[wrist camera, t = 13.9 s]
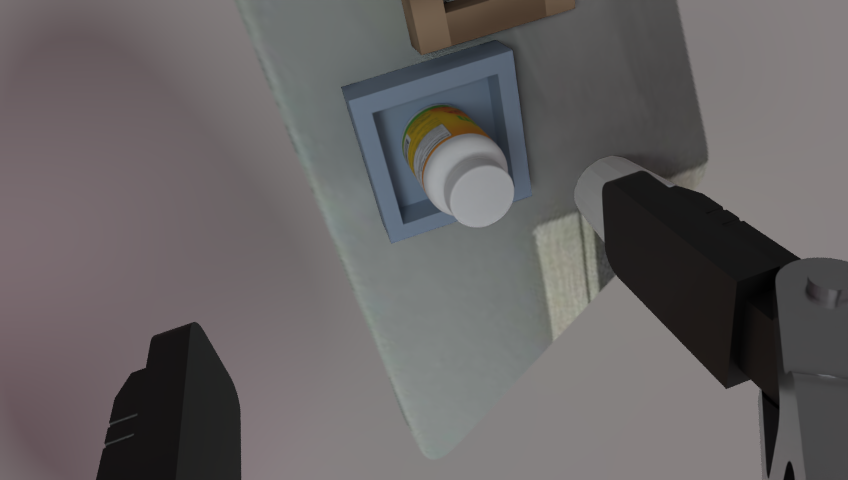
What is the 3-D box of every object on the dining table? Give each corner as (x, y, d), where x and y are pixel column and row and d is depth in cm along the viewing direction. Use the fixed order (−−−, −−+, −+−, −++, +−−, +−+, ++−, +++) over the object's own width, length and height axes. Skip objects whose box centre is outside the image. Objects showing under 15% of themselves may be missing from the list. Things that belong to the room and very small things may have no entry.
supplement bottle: (486, 135, 44) (544, 191, 35) (434, 187, 45) (478, 254, 36) (438, 85, 41) (488, 134, 33) (384, 142, 42) (419, 204, 34)
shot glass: (647, 202, 52) (699, 242, 46) (576, 236, 51) (619, 281, 46) (635, 134, 48) (691, 169, 42) (558, 171, 48) (603, 211, 42)
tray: (341, 87, 40) (348, 101, 37) (495, 39, 41) (512, 50, 38) (382, 223, 46) (391, 243, 43) (516, 179, 47) (531, 195, 44)
